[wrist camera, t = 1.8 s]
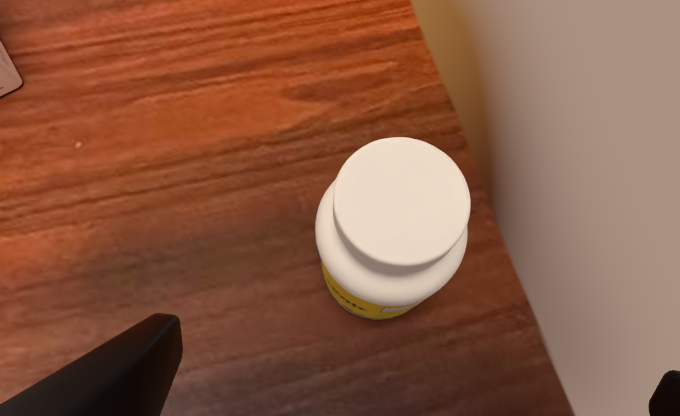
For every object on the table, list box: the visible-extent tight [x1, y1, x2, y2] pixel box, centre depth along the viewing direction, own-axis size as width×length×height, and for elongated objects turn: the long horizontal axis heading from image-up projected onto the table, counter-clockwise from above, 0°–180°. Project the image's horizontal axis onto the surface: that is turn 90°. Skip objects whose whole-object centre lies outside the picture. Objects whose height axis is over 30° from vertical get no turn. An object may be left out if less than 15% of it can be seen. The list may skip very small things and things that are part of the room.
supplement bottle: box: [315, 137, 470, 320], centre depth 16 cm, size 5×5×10 cm
